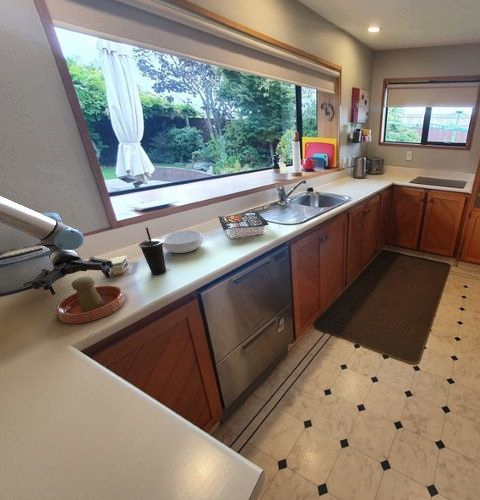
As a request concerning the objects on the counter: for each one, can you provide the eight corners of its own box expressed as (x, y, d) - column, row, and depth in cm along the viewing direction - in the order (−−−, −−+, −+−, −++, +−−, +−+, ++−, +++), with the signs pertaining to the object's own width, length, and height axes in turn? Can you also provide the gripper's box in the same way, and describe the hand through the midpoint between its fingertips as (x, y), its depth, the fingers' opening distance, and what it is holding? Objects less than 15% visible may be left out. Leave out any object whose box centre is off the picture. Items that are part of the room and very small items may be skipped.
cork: (108, 306, 93) (97, 277, 88) (85, 316, 88) (72, 286, 83) (100, 300, 95) (89, 272, 91) (78, 309, 91) (64, 280, 86)
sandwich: (134, 274, 113) (130, 262, 110) (105, 279, 108) (100, 267, 106) (135, 264, 120) (132, 252, 118) (109, 268, 116) (105, 256, 114)
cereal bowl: (167, 261, 124) (163, 246, 121) (161, 248, 135) (158, 234, 132) (208, 252, 134) (206, 238, 131) (200, 240, 145) (197, 227, 142)
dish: (47, 328, 83) (41, 318, 82) (80, 297, 97) (76, 288, 96) (111, 322, 87) (106, 311, 85) (133, 293, 101) (130, 283, 100)
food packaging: (217, 215, 160) (257, 210, 171) (219, 227, 163) (258, 222, 174) (223, 229, 141) (268, 223, 151) (226, 243, 144) (269, 236, 154)
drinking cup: (167, 267, 119) (155, 222, 111) (172, 273, 114) (160, 228, 106) (146, 272, 114) (132, 226, 106) (150, 280, 109) (136, 232, 101)
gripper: (111, 259, 113) (130, 277, 101) (21, 283, 95) (31, 309, 83) (105, 242, 110) (124, 259, 98) (10, 264, 92) (19, 287, 80)
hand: (81, 282), depth 91 cm, fingers open, 13 cm apart
